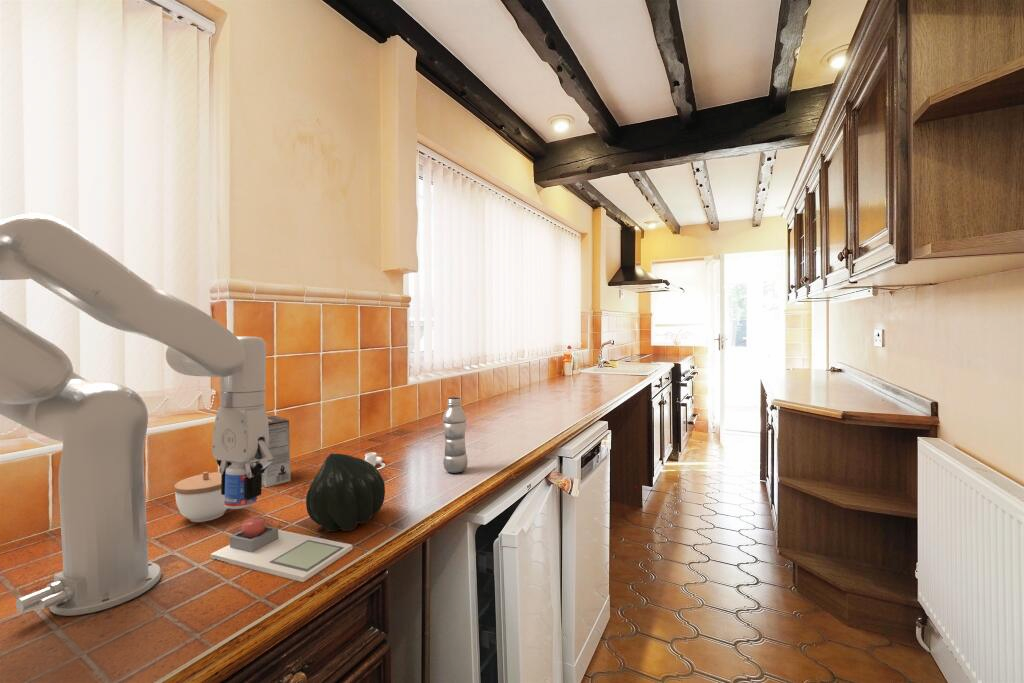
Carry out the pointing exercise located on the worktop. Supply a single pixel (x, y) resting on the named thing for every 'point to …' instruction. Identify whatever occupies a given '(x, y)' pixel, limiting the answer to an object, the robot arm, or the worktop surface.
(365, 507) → the squash
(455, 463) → the plastic bottle
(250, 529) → the button
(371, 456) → the teacup and saucer
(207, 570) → the worktop surface
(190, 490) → the lidded jar
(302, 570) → the white flat board
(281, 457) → the coffee box
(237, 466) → the pill bottle
